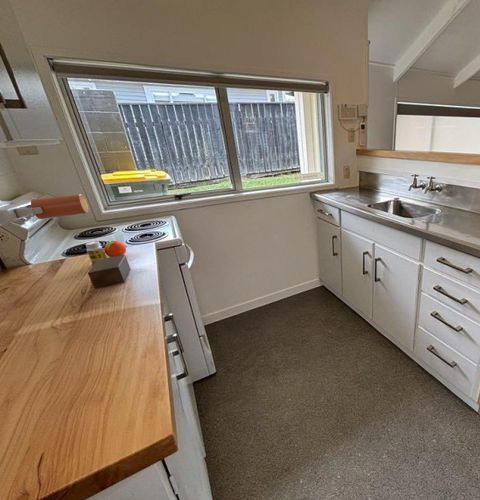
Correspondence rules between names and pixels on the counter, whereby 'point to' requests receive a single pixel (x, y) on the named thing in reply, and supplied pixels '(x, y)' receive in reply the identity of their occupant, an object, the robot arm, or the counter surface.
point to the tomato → (114, 248)
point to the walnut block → (109, 271)
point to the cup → (61, 206)
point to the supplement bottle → (95, 251)
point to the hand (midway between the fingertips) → (47, 207)
